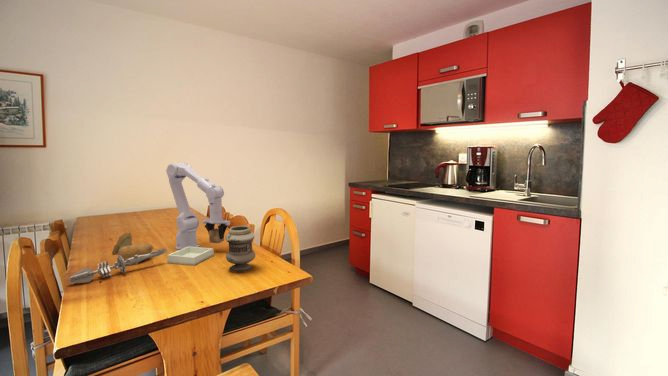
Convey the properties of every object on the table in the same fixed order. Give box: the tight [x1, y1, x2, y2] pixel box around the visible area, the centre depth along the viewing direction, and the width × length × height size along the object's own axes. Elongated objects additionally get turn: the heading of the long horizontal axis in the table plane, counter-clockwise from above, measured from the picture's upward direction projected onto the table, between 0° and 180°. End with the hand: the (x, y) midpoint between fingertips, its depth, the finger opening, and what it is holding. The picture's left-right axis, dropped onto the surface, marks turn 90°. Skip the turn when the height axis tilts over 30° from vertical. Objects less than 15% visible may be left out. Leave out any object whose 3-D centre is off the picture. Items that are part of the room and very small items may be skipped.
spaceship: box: [67, 248, 167, 284], centre depth 133 cm, size 8×35×8 cm
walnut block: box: [208, 227, 225, 244], centre depth 161 cm, size 5×5×6 cm
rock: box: [111, 231, 133, 255], centre depth 162 cm, size 10×8×10 cm
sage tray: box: [166, 246, 214, 266], centre depth 151 cm, size 14×14×4 cm
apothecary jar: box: [225, 225, 256, 274], centre depth 138 cm, size 12×12×18 cm
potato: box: [117, 242, 154, 261], centre depth 148 cm, size 10×14×8 cm
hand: (216, 238), depth 162 cm, fingers closed on walnut block, 5 cm apart
